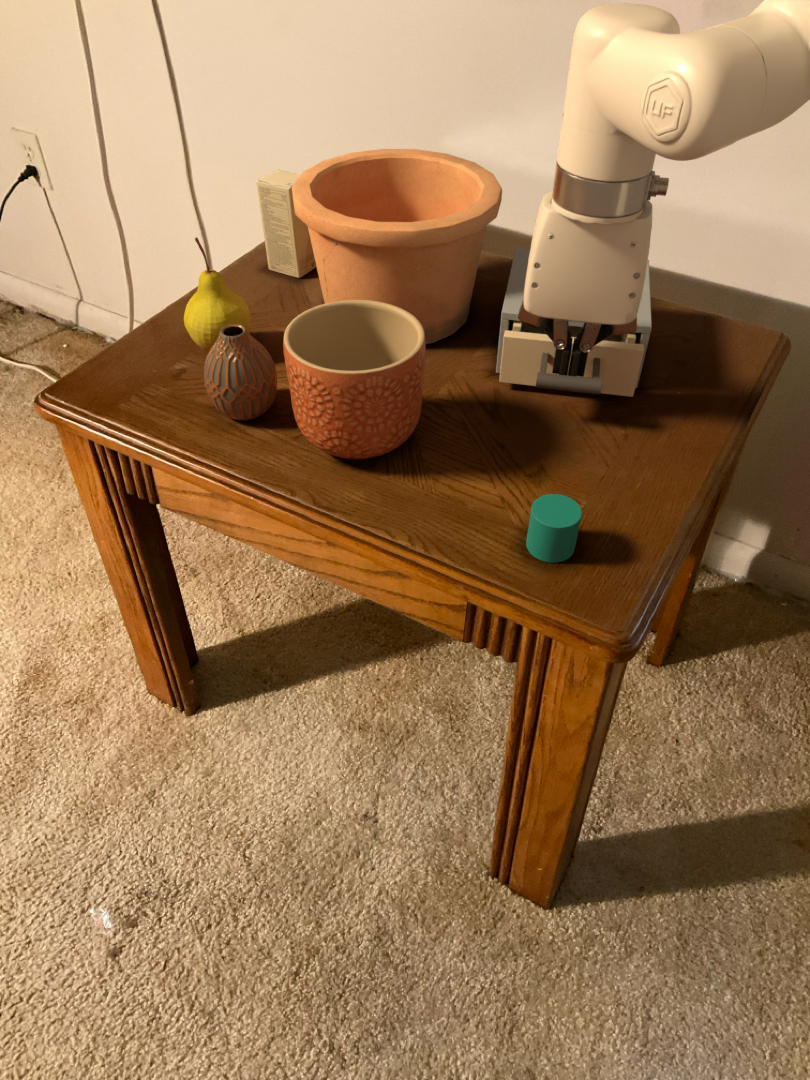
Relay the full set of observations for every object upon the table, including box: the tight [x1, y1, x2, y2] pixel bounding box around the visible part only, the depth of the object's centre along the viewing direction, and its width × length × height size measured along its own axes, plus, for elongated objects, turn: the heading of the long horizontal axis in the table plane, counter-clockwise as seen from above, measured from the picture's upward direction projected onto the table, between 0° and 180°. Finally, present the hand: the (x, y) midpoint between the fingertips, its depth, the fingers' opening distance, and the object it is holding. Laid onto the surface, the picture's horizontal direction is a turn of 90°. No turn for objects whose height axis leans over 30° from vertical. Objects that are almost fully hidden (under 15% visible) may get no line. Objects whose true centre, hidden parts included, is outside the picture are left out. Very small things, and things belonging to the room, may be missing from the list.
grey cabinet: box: [495, 247, 653, 389], centre depth 88 cm, size 15×15×7 cm
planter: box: [282, 300, 427, 460], centre depth 75 cm, size 12×12×11 cm
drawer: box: [498, 320, 644, 398], centre depth 83 cm, size 19×13×5 cm
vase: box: [203, 324, 278, 421], centre depth 78 cm, size 7×7×9 cm
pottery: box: [292, 148, 503, 345], centre depth 90 cm, size 22×22×14 cm
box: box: [255, 168, 317, 279], centre depth 99 cm, size 5×4×11 cm
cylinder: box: [525, 493, 583, 564], centre depth 66 cm, size 4×4×4 cm
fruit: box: [183, 237, 252, 353], centre depth 85 cm, size 7×7×12 cm
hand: (566, 379), depth 79 cm, fingers closed
